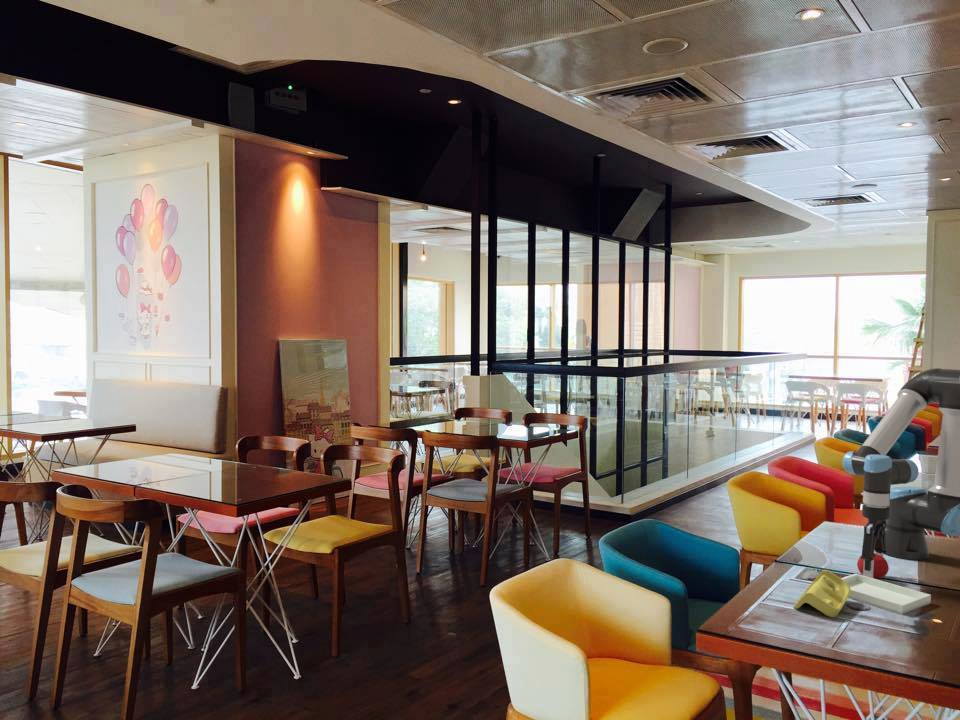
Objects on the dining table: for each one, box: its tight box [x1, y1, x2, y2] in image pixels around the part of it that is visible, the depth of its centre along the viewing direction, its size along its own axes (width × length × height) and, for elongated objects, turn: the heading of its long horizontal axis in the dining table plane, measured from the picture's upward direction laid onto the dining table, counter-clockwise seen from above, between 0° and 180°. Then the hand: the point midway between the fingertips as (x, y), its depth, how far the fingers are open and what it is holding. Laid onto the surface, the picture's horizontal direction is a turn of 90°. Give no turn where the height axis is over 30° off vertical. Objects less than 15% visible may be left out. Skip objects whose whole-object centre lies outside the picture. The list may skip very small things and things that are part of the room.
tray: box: [840, 573, 932, 615], centre depth 228 cm, size 16×22×2 cm
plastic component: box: [793, 569, 851, 618], centre depth 221 cm, size 20×7×10 cm
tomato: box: [856, 554, 890, 580], centre depth 245 cm, size 9×9×8 cm
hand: (872, 576), depth 245 cm, fingers closed on tomato, 9 cm apart
